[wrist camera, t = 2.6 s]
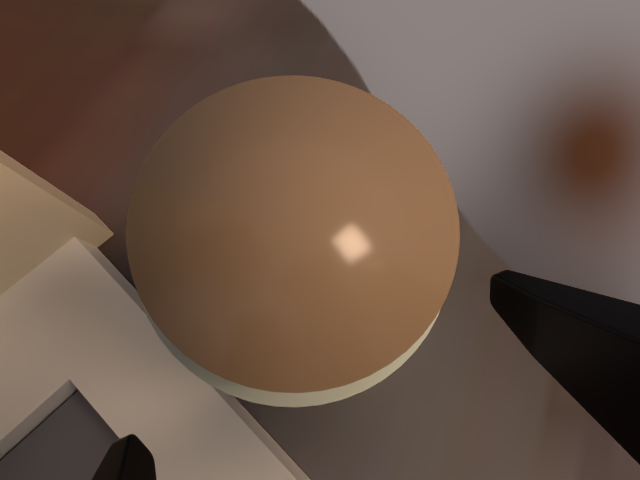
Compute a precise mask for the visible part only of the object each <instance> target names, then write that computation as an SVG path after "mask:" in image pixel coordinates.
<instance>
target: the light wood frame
mask: <svg viewBox="0 0 640 480" xmlns="http://www.w3.org/2000/svg"><path fill="white" fill-rule="evenodd" d="M112 235H114V234H113V232H112V231H111V230H110V229H109V228H108V227H107V226H106V225H105V224H104V223H103V222H102V221H101V220H100V219H99V217H98V216H97V215H96V214H95V213H93V212H92V211H90V210H89V209H87V208H86V207H84V206H83V205H81V204H80V203H78V202H77V201H75V200H74V199H72V198H71V197H69V196H68V195H66V194H65V193H63V192H62V191H60V190H59V189H57V188H56V187H54V186H53V185H51V184H50V183H48V182H47V181H45V180H44V179H42V178H41V177H39V176H38V175H36V174H35V173H33V172H32V171H30V170H29V169H27V168H26V167H24V166H23V165H21V164H20V163H18V162H17V161H15V160H14V159H12V158H11V157H9V156H8V155H6V154H5V153H3V152H2V151H0V460H1V461H0V480H91V479H92V477H93V475H94V473H95V472H96V470H97V468H98V466H99V465H100V463H101V461H102V459H103V458H104V456H105V454H106V452H107V451H108V449H109V447H110V446H111V444H112V443H113V442H114V441H116V440H118V439H120V438H122V437H125V436H127V435H129V434H134V435H136V436H137V437H138V438H139V439H140V440H141V441H142V443H143V444H144V445H145V446H146V447H147V448H148V449H149V451H150V452H151V453H152V455H153V458H154V462H155V470H156V479H157V480H310V479H309V478H308V477H307V475H306V474H305V473H304V472H303V471H302V470H301V469H300V468H299V467H298V466H297V465H296V463H295V462H294V461H293V460H292V459H291V458H290V457H289V456H288V455H287V454H286V453H285V451H284V450H283V449H282V448H281V447H280V446H279V445H278V444H277V443H276V442H275V441H274V440H273V438H272V437H271V436H270V435H269V434H268V433H267V432H266V431H265V430H264V429H263V428H262V426H261V425H260V424H259V423H258V422H257V421H256V420H255V419H254V418H253V417H252V416H251V414H250V413H249V412H248V411H247V410H246V409H245V408H244V407H243V406H242V405H241V404H240V403H239V401H238V400H237V399H236V398H235V397H234V396H232V395H229V394H227V393H225V392H223V391H221V390H219V389H217V388H215V387H213V386H211V385H209V384H207V383H206V382H204V381H203V380H202V379H200V378H199V377H197V376H196V375H194V374H193V373H192V372H190V371H189V370H188V369H187V368H186V367H185V366H184V365H183V364H181V363H180V362H179V361H178V360H177V359H176V358H175V357H174V356H173V355H172V354H171V352H170V351H169V350H168V349H167V347H166V346H165V345H164V343H163V342H162V341H161V340H160V338H159V337H158V335H157V334H156V332H155V330H154V328H153V327H152V325H151V323H150V321H149V320H148V318H147V315H146V313H145V310H144V308H143V305H142V302H141V300H140V297H139V294H138V292H137V290H136V289H135V288H134V287H133V286H132V285H131V284H130V283H129V282H128V281H127V280H126V278H125V277H124V276H123V275H122V274H121V273H120V272H119V271H118V270H117V269H116V268H115V267H114V265H113V264H112V263H111V262H110V261H109V260H108V259H107V258H106V257H105V256H104V255H103V253H102V252H101V251H100V250H99V249H98V247H99V246H100V245H101V244H103V243H104V242H105V241H106V240H108V239H109V238H110V237H111V236H112ZM76 391H77V392H76ZM75 392H76V393H75ZM74 393H75V394H74ZM73 394H74V395H73ZM65 401H66V402H65ZM64 402H65V403H64ZM63 403H64V404H63ZM62 404H63V405H62ZM54 411H55V412H54ZM53 412H54V413H53ZM52 413H53V414H52ZM51 414H52V415H51ZM44 420H45V421H44ZM43 421H44V422H43ZM42 422H43V423H42ZM41 423H42V424H41ZM40 424H41V425H40ZM33 430H34V431H33ZM32 431H33V432H32ZM31 432H32V433H31ZM30 433H31V434H30ZM29 434H30V435H29ZM22 440H23V441H22ZM21 441H22V442H21ZM20 442H21V443H20ZM19 443H20V444H19ZM11 450H12V451H11ZM10 451H11V452H10ZM9 452H10V453H9ZM8 453H9V454H8Z"/></svg>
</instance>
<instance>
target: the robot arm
mask: <svg viewBox="0 0 640 480" xmlns="http://www.w3.org/2000/svg"><path fill="white" fill-rule="evenodd" d="M490 302H491V304H492V306H493V308H494V309H495V311H496V312H497V313H498V314H499V316H500V317H501V318H502V319H503V320H504V322H505V323H506V324H507V325H508V327H509V328H510V329H511V330H512V332H513V333H514V334H515V335H516V337H517V338H518V339H519V340H520V341H521V343H522V344H523V345H524V346H525V348H526V349H527V350H528V351H529V352H530V353H531V355H532V356H533V357H534V358H535V359H536V360H537V361H538V362H539V363H540V364H541V365H542V366H543V367H544V368H545V369H546V370H547V371H548V372H549V373H550V374H551V375H552V376H553V377H554V378H555V379H556V380H557V381H558V382H559V383H560V384H561V385H562V386H563V388H564V389H565V390H566V391H567V392H568V393H569V394H570V395H571V396H572V397H573V398H574V399H575V400H576V401H577V402H578V403H579V404H580V405H581V406H582V407H583V408H584V409H585V410H586V411H587V412H588V413H589V414H590V415H591V416H592V417H593V418H594V419H595V420H596V421H597V422H598V423H599V424H600V425H601V426H602V427H603V428H604V429H605V430H606V431H607V432H608V433H609V434H610V435H611V436H612V437H613V438H614V439H615V440H616V441H617V442H618V443H619V444H620V445H621V446H622V447H623V448H624V449H625V450H626V451H627V452H628V453H629V454H630V455H631V456H632V457H633V458H634V459H635V460H636V461H637V462H638V464H639V465H640V305H639V304H635V303H631V302H627V301H624V300H620V299H616V298H612V297H609V296H605V295H601V294H597V293H593V292H589V291H586V290H582V289H579V288H574V287H571V286H567V285H563V284H559V283H556V282H552V281H548V280H544V279H540V278H537V277H533V276H529V275H526V274H522V273H518V272H514V271H510V270H504V271H501V272H499V273H497V274H494V275H493V276H492V277H491V280H490ZM91 480H157V479H156V470H155V462H154V458H153V455H152V453H151V452H150V451H149V449H148V448H147V447H146V446H145V445H144V444H143V443H142V441H141V440H140V439H139V438H138V437H137V436H136V435H134V434H129V435H127V436H125V437H122V438H120V439H118V440H116V441H114V442H113V443H112V444H111V446H110V447H109V449H108V451H107V452H106V454H105V456H104V458H103V459H102V461H101V463H100V465H99V466H98V468H97V470H96V472H95V473H94V475H93V477H92V479H91Z"/></svg>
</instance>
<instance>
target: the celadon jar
mask: <svg viewBox="0 0 640 480" xmlns="http://www.w3.org/2000/svg"><path fill="white" fill-rule="evenodd" d="M459 242H460V230H459V215H458V210H457V205H456V199H455V196H454V193H453V189H452V186H451V184H450V180H449V178H448V176H447V173H446V171H445V169H444V167H443V165H442V163H441V161H440V159H439V158H438V156H437V155H436V153H435V151H434V150H433V148H432V147H431V145H430V144H429V143H428V141H427V140H426V139H425V138H424V136H423V135H422V134H421V133H420V131H419V130H418V129H416V127H415V126H414V125H413V124H412V123H410V122H409V121H408V120H407V119H406V118H405V117H404V116H403V115H401V114H400V113H399V112H398V111H396V110H395V109H394V108H392V107H391V106H390V105H388V104H386V103H385V102H383V101H382V100H380V99H378V98H377V97H375V96H373V95H371V94H369V93H367V92H365V91H363V90H360V89H358V88H356V87H353V86H350V85H347V84H344V83H341V82H338V81H333V80H329V79H324V78H319V77H310V76H299V75H296V76H274V77H266V78H259V79H255V80H251V81H247V82H243V83H239V84H236V85H234V86H231V87H228V88H226V89H223V90H221V91H219V92H217V93H215V94H213V95H211V96H209V97H207V98H205V99H203V100H202V101H200V102H199V103H197V104H196V105H194V106H193V107H191V108H190V109H188V110H187V111H186V112H185V113H184V114H183V115H181V116H180V117H179V118H178V119H177V120H176V121H174V122H173V123H172V124H171V125H170V127H169V128H168V129H167V130H166V131H165V132H164V133H163V134H162V135H161V136H160V138H159V139H158V140H157V142H156V143H155V145H154V146H153V148H152V149H151V150H150V152H149V153H148V155H147V157H146V159H145V161H144V162H143V164H142V166H141V168H140V170H139V172H138V175H137V177H136V180H135V183H134V186H133V189H132V192H131V196H130V200H129V205H128V210H127V219H126V247H127V258H128V262H129V266H130V270H131V275H132V279H133V281H134V284H135V286H136V289H137V292H138V294H139V297H140V300H141V302H142V305H143V308H144V310H145V313H146V315H147V318H148V320H149V321H150V323H151V325H152V327H153V328H154V330H155V332H156V334H157V335H158V337H159V338H160V340H161V341H162V342H163V343H164V345H165V346H166V347H167V349H168V350H169V351H170V352H171V354H172V355H173V356H174V357H175V358H176V359H177V360H178V361H179V362H180V363H181V364H183V365H184V366H185V367H186V368H187V369H188V370H189V371H190V372H192V373H193V374H194V375H196V376H197V377H199V378H200V379H202V380H203V381H204V382H206V383H207V384H209V385H211V386H213V387H215V388H217V389H219V390H221V391H223V392H225V393H227V394H229V395H232V396H234V397H237V398H240V399H243V400H246V401H249V402H253V403H259V404H264V405H269V406H279V407H305V406H315V405H322V404H326V403H330V402H334V401H339V400H343V399H345V398H348V397H350V396H353V395H355V394H358V393H360V392H363V391H365V390H366V389H368V388H370V387H372V386H373V385H375V384H377V383H379V382H380V381H382V380H384V379H385V378H386V377H388V376H389V375H390V374H391V373H393V372H394V371H395V370H397V369H398V368H399V367H400V366H401V365H402V364H403V363H404V362H405V361H406V360H407V359H408V358H409V357H410V356H411V355H412V354H413V353H414V352H415V351H416V350H417V348H418V347H419V346H420V344H421V343H422V342H423V340H424V339H425V337H426V336H427V335H428V333H429V331H430V329H431V328H432V326H433V324H434V322H435V320H436V318H437V317H438V314H439V312H440V309H441V307H442V305H443V303H444V301H445V299H446V297H447V295H448V292H449V289H450V287H451V284H452V281H453V279H454V274H455V270H456V266H457V261H458V254H459Z"/></svg>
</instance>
